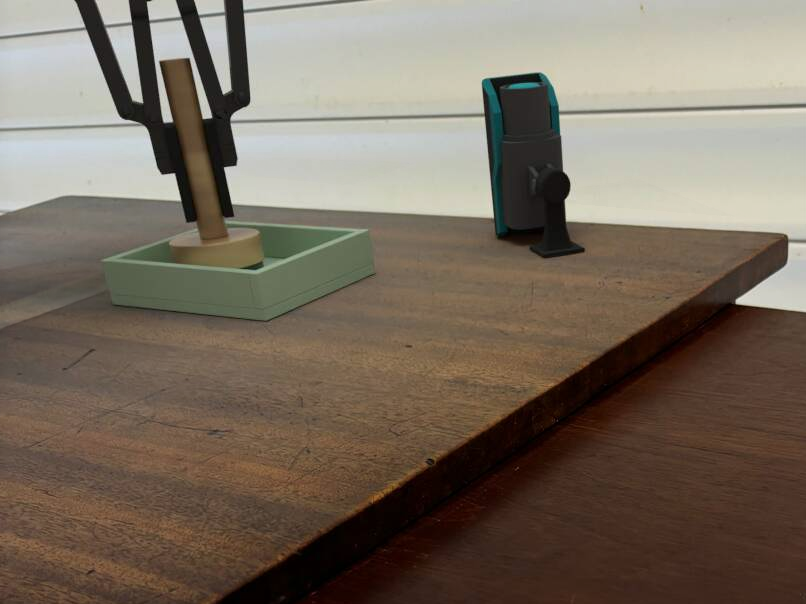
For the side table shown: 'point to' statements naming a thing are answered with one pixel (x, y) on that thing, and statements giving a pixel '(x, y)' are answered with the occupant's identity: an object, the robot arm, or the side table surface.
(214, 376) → the side table surface
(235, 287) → the tray
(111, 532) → the side table surface
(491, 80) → the surveillance camera
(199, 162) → the peg on round base
